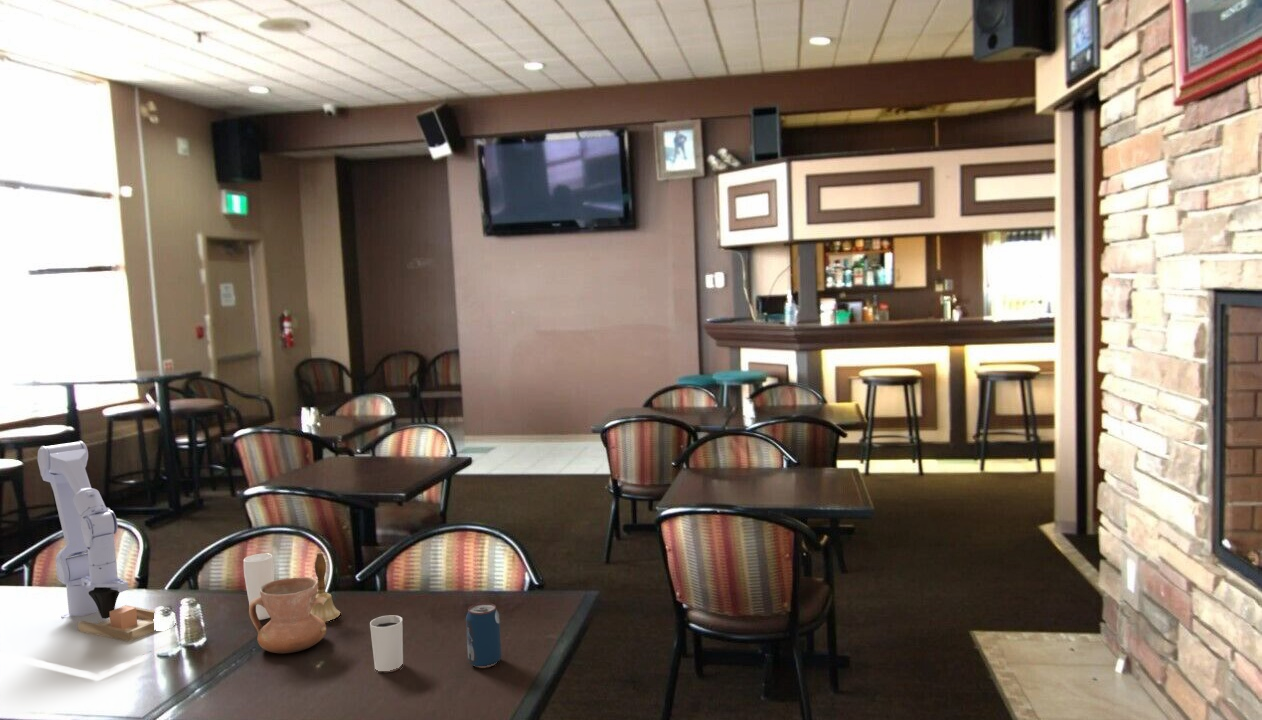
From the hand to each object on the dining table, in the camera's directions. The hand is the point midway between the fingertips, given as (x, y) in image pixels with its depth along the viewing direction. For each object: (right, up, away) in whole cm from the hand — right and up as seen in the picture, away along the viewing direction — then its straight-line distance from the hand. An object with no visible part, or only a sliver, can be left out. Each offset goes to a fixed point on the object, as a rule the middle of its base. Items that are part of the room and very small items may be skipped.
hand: (107, 617), depth 214 cm
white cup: (+76, -3, -29) cm, 81 cm away
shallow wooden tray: (+7, -3, -3) cm, 8 cm away
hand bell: (+52, -1, +2) cm, 52 cm away
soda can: (+96, -2, -28) cm, 100 cm away
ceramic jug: (+50, -2, -15) cm, 53 cm away
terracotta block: (+5, -1, -2) cm, 6 cm away
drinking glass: (+36, -1, +4) cm, 36 cm away
